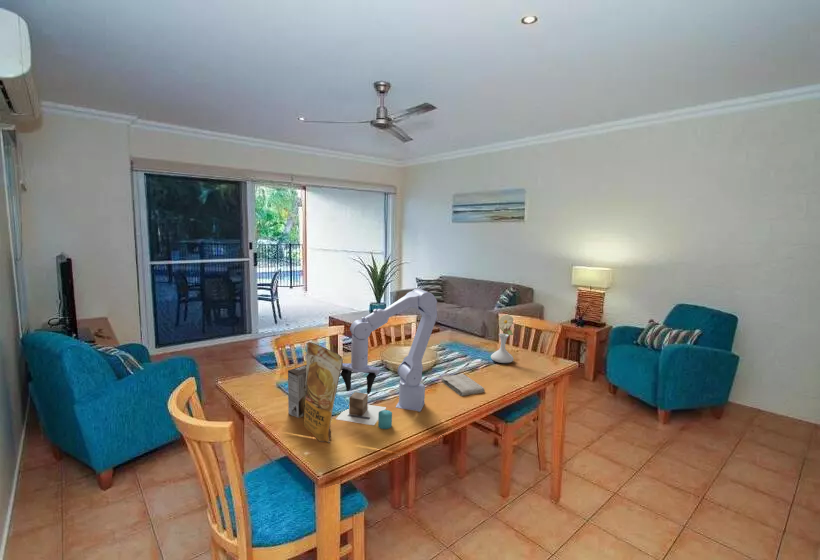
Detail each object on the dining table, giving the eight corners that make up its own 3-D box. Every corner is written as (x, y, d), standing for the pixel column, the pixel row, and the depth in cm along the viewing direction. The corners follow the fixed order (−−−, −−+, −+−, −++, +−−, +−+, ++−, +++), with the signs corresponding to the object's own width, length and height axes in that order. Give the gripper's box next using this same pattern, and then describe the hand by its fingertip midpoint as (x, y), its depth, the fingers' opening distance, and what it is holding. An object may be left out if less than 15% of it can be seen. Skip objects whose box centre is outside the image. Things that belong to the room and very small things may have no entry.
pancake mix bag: (315, 417, 142) (315, 339, 138) (343, 440, 128) (345, 354, 124) (296, 422, 138) (296, 342, 134) (324, 447, 124) (325, 358, 120)
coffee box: (308, 405, 151) (308, 363, 149) (319, 410, 147) (320, 367, 145) (287, 413, 144) (287, 369, 142) (298, 419, 140) (298, 374, 138)
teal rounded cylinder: (393, 425, 139) (393, 411, 138) (389, 431, 135) (389, 417, 134) (380, 423, 140) (381, 409, 139) (376, 429, 136) (376, 415, 135)
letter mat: (386, 408, 151) (386, 407, 151) (374, 426, 137) (374, 425, 137) (350, 403, 154) (351, 401, 154) (335, 420, 140) (335, 419, 140)
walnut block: (367, 409, 148) (367, 393, 147) (362, 415, 143) (362, 399, 142) (354, 407, 149) (354, 392, 148) (349, 413, 144) (349, 397, 144)
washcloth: (461, 377, 184) (462, 371, 184) (485, 393, 169) (486, 386, 168) (438, 381, 179) (439, 374, 179) (461, 398, 163) (461, 390, 163)
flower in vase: (486, 358, 211) (489, 310, 207) (505, 356, 214) (509, 310, 211) (499, 367, 199) (502, 316, 195) (519, 365, 202) (523, 316, 198)
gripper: (335, 355, 141) (335, 392, 143) (375, 360, 138) (374, 398, 140) (343, 349, 148) (343, 385, 150) (382, 354, 144) (380, 390, 146)
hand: (358, 391), depth 145 cm, fingers open, 7 cm apart
